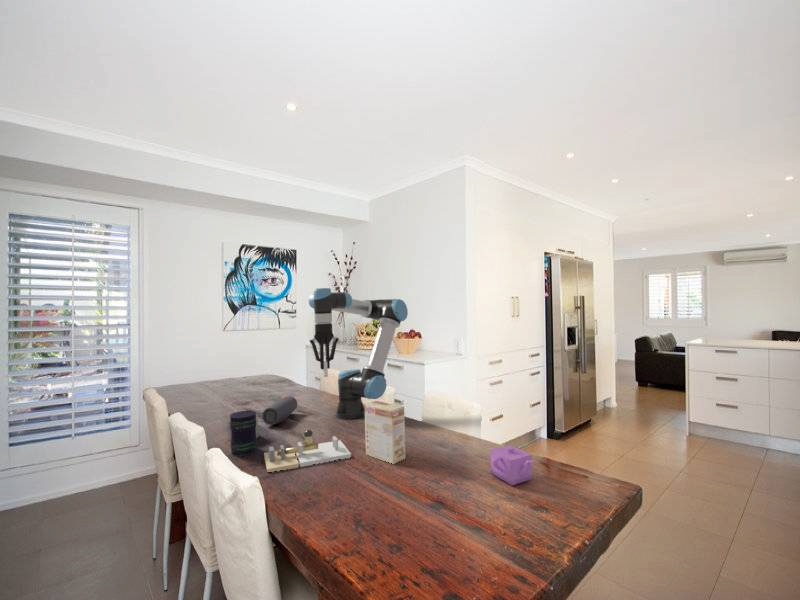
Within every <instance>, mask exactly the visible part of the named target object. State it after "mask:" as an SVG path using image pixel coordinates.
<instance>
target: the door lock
mask: <svg viewBox="0 0 800 600" xmlns="http://www.w3.org/2000/svg"><path fill="white" fill-rule="evenodd" d="M331 438H332V441H328V442H320V443H317V444H318V449H315V450H309V451H303V446H304V445H303V444H302V441H298V442H297V447H299V452H298V453H292V454H286V455H285V449H286V448H285V445H284V444H280V445H279V450H281V455H280V456H277V450H275V448H274V446H268V452H264V453H263V456H264V457H263V458H264V463H265V467H266V473H267V472H272V473H275V472H274V471H277V472H281V471H280V470H283V471H287V469H288V470H293V469H298V467H299V468H303V467H304V468H305V467H307V466H314V465H313V464H315V465H320V464H323V463H324V462H325V463H329V461H330V462H335V461H334V460H336V461H339V460H338V459H341V460H346V459H350V457H351V458H352V453H351V452H350V450H349V449H348V448H347V447H346V445H345V444H344V442H343V441H341V439H338V438H337V436H336V435H334V436H332V437H331ZM295 454H296V455H295ZM345 458H346V459H345ZM297 459H298V460H297ZM319 463H320V464H319Z"/></svg>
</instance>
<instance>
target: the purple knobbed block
mask: <svg viewBox="0 0 800 600" xmlns="http://www.w3.org/2000/svg"><path fill="white" fill-rule="evenodd" d="M489 453H490V454H489V457H490V474H491V475H493V476H495V477H497V479H500V480H501V481H504V482H505V483H507V484H508V485H510V486H515V485H518V484H522V483H525V482H527V481H528V482H529V481H531V480H533V463H534V461H533V456H532V454H530V453H528V452H526V451H524V450H523V449H519V448H517V447H515V446H513V445H510V444H508V445H505V446H501V447H493V449H490V450H489Z"/></svg>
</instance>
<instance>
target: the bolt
mask: <svg viewBox="0 0 800 600" xmlns="http://www.w3.org/2000/svg"><path fill="white" fill-rule="evenodd" d="M313 433H314V432H313V431H312V430H311V429H306V430H305V431H304V434H303V435H304V445H303V451H309V450H315V449H318V444H319V443H313V442H314V440H313V437H314V436H313V435H314V434H313ZM276 451H277V456H280V455H281V450H280V449H277V450H276ZM298 452H299V447H298V446H296V447H288V448H285V455H286V454H292V453H298Z"/></svg>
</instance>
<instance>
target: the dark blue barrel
mask: <svg viewBox="0 0 800 600" xmlns="http://www.w3.org/2000/svg"><path fill="white" fill-rule="evenodd" d="M256 414H257V412H256V411H255V410H241V411H236V412H233V413H230V415H229V418H230V419H229V425H230V427H229V429H230V432H231V433H230V436H231V438H230V450H231V451H230V454H231V455H232V456H236V457H241V456H243V455H244V456H248V455H251V454H254V453H256V451H257V450H258V438H257V436H256ZM253 452H254V453H253Z"/></svg>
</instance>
